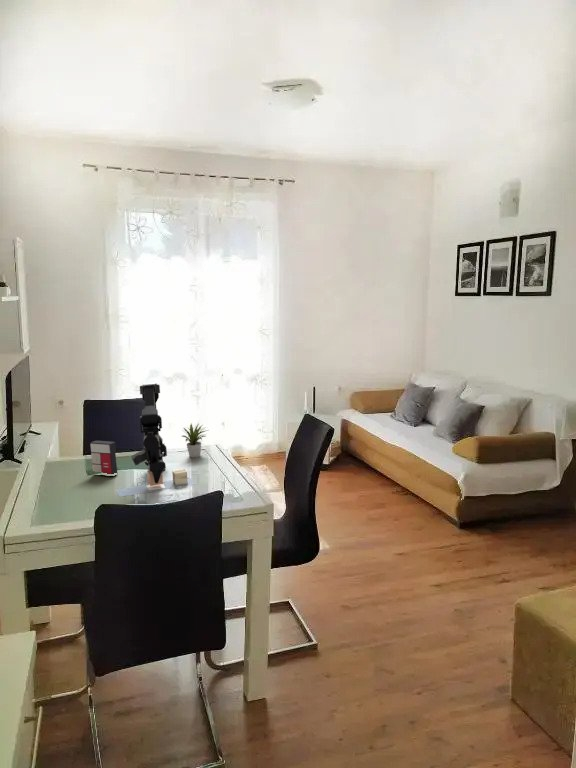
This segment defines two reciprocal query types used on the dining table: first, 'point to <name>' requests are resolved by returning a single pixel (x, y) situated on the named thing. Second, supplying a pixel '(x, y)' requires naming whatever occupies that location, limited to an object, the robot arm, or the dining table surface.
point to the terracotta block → (151, 479)
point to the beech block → (179, 476)
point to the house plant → (194, 441)
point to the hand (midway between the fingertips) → (155, 481)
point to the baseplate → (150, 488)
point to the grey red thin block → (103, 456)
